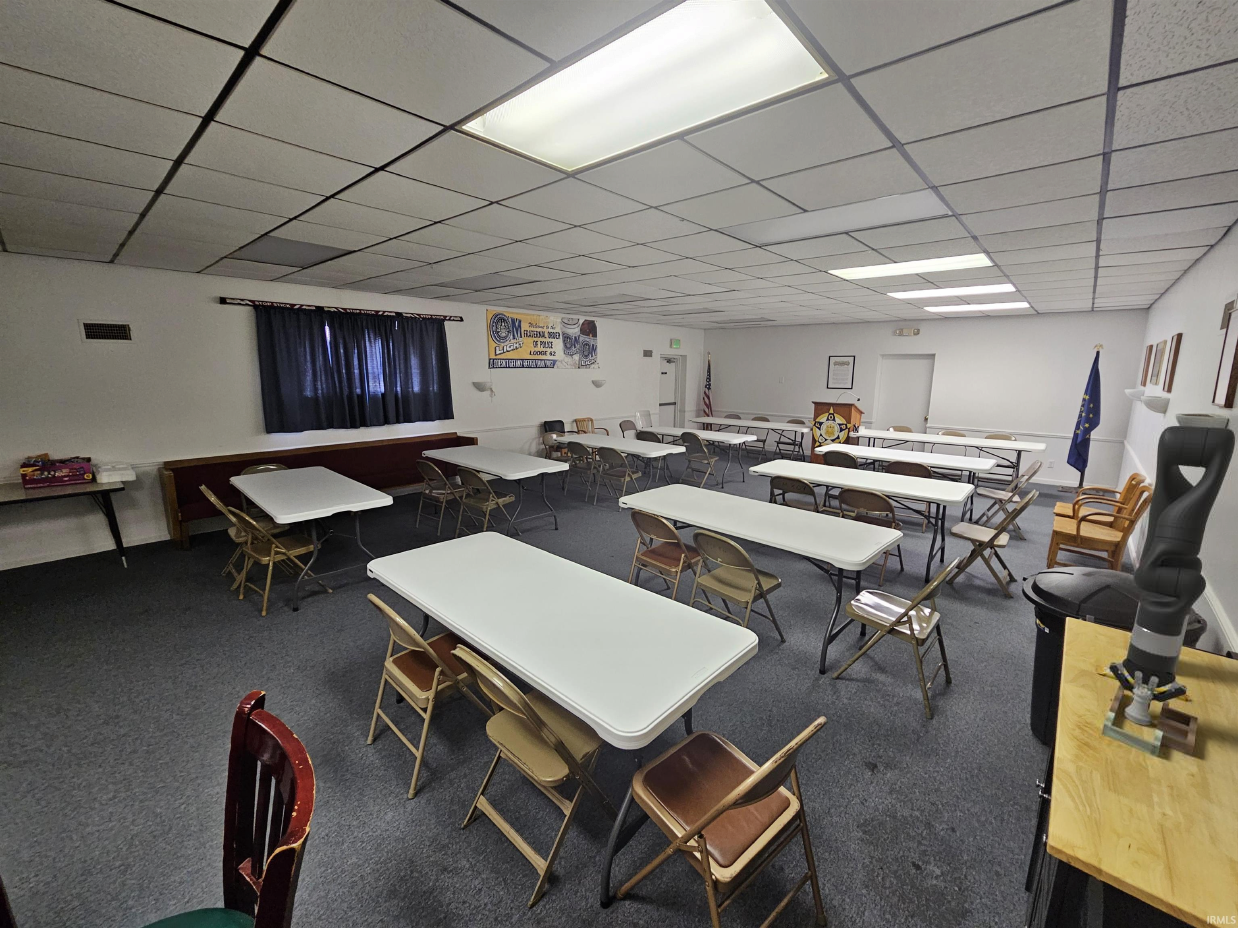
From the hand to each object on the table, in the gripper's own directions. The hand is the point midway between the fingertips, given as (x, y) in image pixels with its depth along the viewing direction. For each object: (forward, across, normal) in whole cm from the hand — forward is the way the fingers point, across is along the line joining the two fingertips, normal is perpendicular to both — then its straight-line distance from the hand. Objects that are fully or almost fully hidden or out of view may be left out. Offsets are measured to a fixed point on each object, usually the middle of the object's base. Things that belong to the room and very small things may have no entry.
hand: (1139, 709), depth 114 cm
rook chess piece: (+1, 0, +3) cm, 3 cm away
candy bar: (+2, +1, -16) cm, 16 cm away
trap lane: (+1, -2, +4) cm, 5 cm away
